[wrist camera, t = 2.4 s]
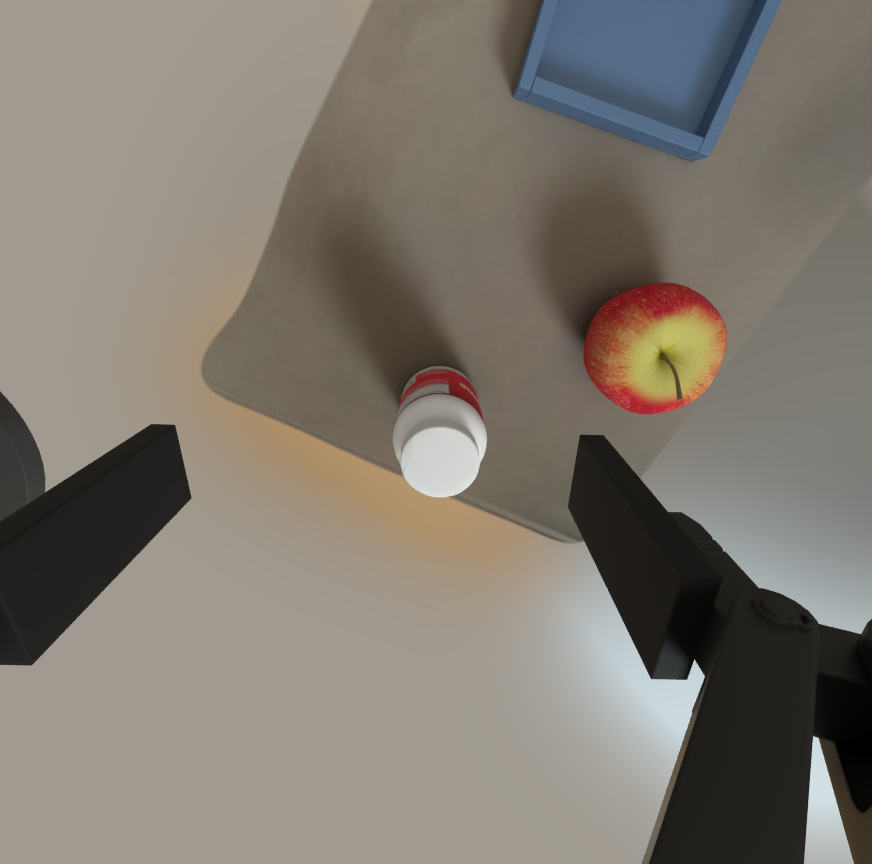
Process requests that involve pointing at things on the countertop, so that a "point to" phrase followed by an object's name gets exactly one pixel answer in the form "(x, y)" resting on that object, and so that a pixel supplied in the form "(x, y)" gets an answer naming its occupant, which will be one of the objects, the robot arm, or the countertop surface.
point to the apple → (655, 347)
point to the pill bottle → (439, 432)
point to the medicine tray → (645, 66)
